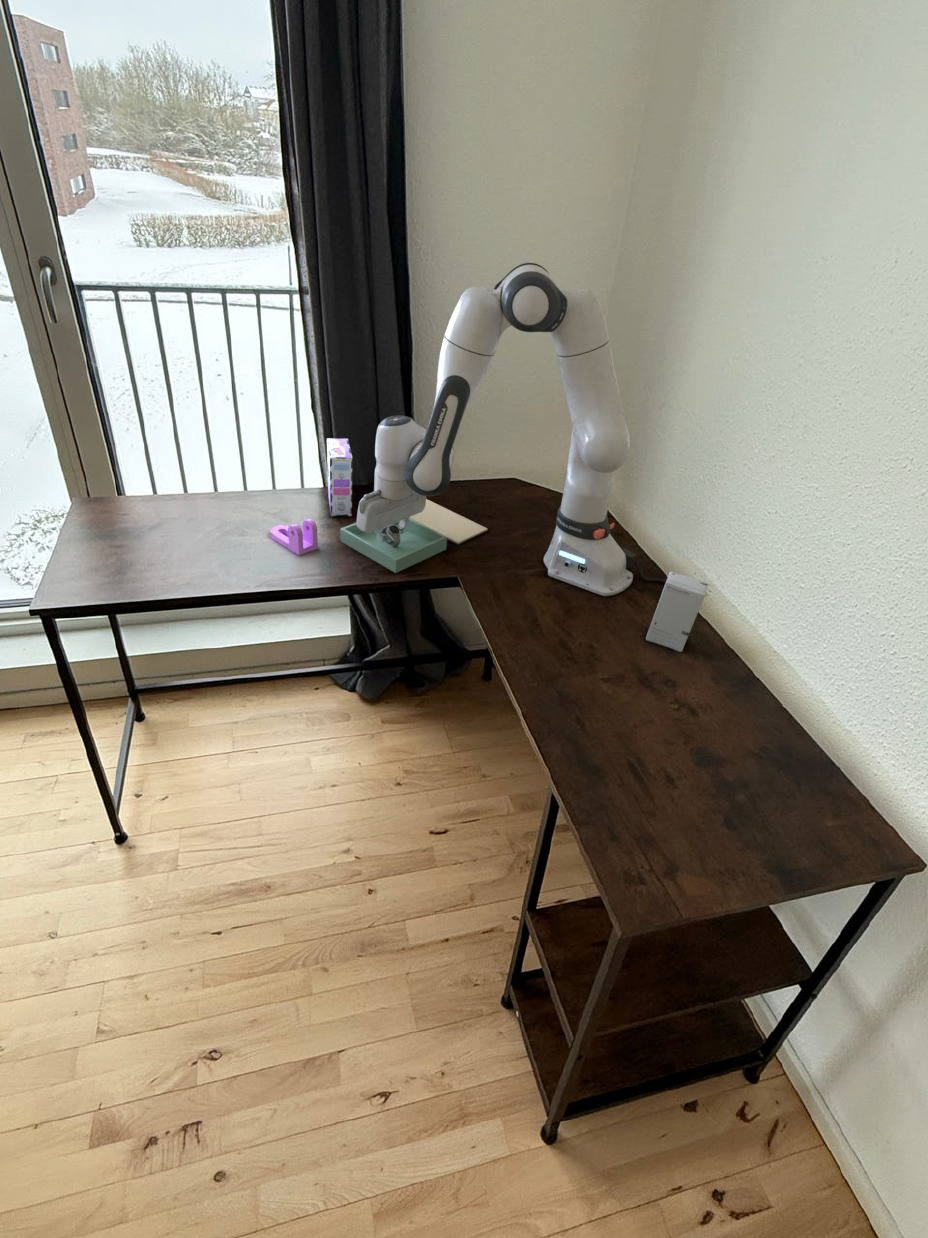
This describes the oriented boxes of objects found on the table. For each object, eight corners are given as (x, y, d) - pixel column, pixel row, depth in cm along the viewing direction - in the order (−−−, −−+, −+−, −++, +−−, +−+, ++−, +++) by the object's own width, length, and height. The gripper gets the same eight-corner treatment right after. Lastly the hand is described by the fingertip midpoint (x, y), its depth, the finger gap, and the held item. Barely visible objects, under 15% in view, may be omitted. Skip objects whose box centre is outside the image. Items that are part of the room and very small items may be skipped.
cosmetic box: (644, 640, 143) (663, 582, 135) (650, 626, 148) (668, 569, 140) (683, 653, 141) (705, 594, 133) (688, 638, 146) (709, 581, 137)
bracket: (317, 548, 162) (317, 522, 158) (298, 555, 158) (297, 529, 154) (285, 528, 168) (283, 502, 164) (266, 534, 165) (264, 508, 161)
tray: (446, 549, 167) (447, 537, 165) (395, 573, 156) (396, 560, 154) (391, 520, 177) (392, 508, 175) (340, 541, 166) (340, 528, 164)
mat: (487, 530, 178) (487, 528, 178) (457, 544, 170) (458, 542, 170) (422, 498, 190) (422, 497, 189) (391, 510, 182) (392, 508, 182)
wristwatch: (392, 549, 164) (393, 531, 161) (377, 539, 168) (378, 521, 165) (403, 546, 166) (404, 528, 163) (388, 535, 170) (389, 518, 167)
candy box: (352, 516, 177) (353, 457, 167) (330, 517, 175) (329, 457, 166) (348, 494, 187) (348, 437, 178) (327, 494, 186) (326, 437, 177)
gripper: (369, 501, 150) (368, 555, 157) (431, 479, 163) (428, 529, 171) (350, 491, 153) (350, 545, 161) (413, 470, 166) (410, 520, 174)
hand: (391, 536), depth 166 cm, fingers open, 5 cm apart
